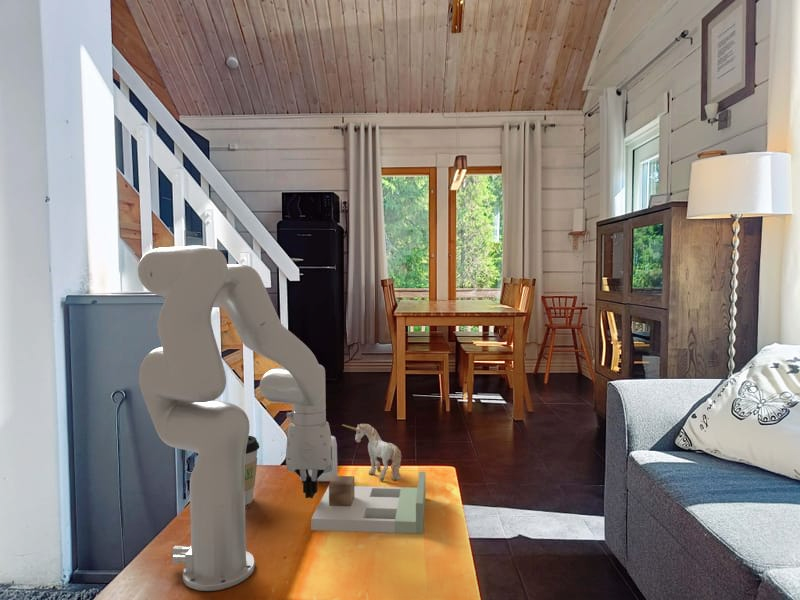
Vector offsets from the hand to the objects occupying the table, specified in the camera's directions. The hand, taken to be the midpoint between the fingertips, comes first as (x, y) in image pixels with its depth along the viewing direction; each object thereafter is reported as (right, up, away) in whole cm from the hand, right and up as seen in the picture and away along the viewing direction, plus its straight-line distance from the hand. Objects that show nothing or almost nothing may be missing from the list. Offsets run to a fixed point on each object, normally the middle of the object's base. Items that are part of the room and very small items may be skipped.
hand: (310, 495), depth 122 cm
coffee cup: (-18, -4, +6) cm, 19 cm away
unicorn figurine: (+13, -3, +20) cm, 24 cm away
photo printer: (-1, -3, +19) cm, 20 cm away
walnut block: (+7, -1, -1) cm, 7 cm away
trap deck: (+14, -4, -1) cm, 15 cm away
